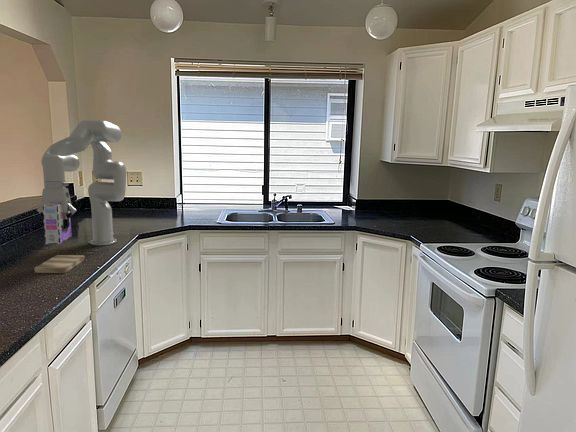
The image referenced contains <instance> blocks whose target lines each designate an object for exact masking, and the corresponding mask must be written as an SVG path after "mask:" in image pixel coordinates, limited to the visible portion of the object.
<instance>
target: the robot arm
mask: <svg viewBox="0 0 576 432" xmlns="http://www.w3.org/2000/svg"><path fill="white" fill-rule="evenodd" d="M122 136H123V135H122V130H121V128H120V127H119V126H118V125H117V124H114V123H112V122H110V121H107V120H102V119H101V120H100V119H83V120H81V121H79V123H78V124H77V125H76V126H75V128H74V129H73V130H72V132H71V133H70V135H69V136H67V137H65V138H62V139H60V140H58V141H56V142H54V143H52V144H51V145H50V146H48V148H47V149H46V151H44V153H43V155H42V157H41V161H40V162H41V166H42V171H43V172H42V174H43V175H42V176H43V187H44V188H42V192H41V193H42V194H41V204H40V205H39V207H37V208H36V212H38V213H39V214H40V215H41V216H42V217H43V206H42V205H44V204H47V203H61V205H62V212H63V217H64V219H63V226H64V229H66V228H69V225H70V224H69V218H70V219H71V217H72V216H73V215H74V214H75V213H76V212H77V209H76V208H75V207H74V206H73V205H72V201H71V196H70V192H69V188H68V186H69V182H66V176H65V172H67V173H68V172H69V173H70V172H71V173H72V172H75V171H76V170H78V169H79V167H80V159H79V157H78V156H76V155H75V154H79V153H81V152H84V151H85V150H86V149H87V148H88V147H89V145H91V147H92V153H93V156H92V157H93V159H92V160H93V161H92V174H93V175H92V176H93V177H94V178H95V179H98V180H106V181H94V182H92V183H90V184H89V185H88V188H87V191H88V192H87V194H88V198H89V201H90V208H91V225H92V239H91V240H89V244H90V245H93V246H108V245H113V244H115V243H117V239H116V238H114V235H115V233H114V229H113V227H114V226H113V209H112V206H111V205H110V203H109V202H121V201H123V200H124V198H125V197H126V189H127V168H126V165H125V164H124V162H122V161H118V160H112V158H113V157H112V156H113V154H112V153H113V152H112V149H111V147H110V146H109V145H108V144H107V143H118V142H120V141H121V139H122ZM109 180H111V181H110V182H108V181H109ZM112 181H113V182H112ZM68 211H70V213H68Z"/></svg>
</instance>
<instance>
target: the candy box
mask: <svg viewBox="0 0 576 432" xmlns="http://www.w3.org/2000/svg"><path fill="white" fill-rule="evenodd" d="M41 205H42V204H41ZM42 206H43V216H42V219H43V230H44V231H43V234H44V245H61V244H62V243H64V242H66V241H67V240H69V239H70V238H71V237H72V235H73V234H72V222H71V221H72V220H71V217H70V218H69V224H70V225H69V228H66V229H64V226H63V219H64V217H63V212H62V205H61V203H47V204H44V205H42ZM70 212H71V210H70V211H68V213H70Z"/></svg>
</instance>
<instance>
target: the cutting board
mask: <svg viewBox="0 0 576 432" xmlns="http://www.w3.org/2000/svg"><path fill="white" fill-rule="evenodd" d="M83 261H85V255H80V254H79V255H77V254H75V255H74V254H67V255H66V254H64V255H63V254H55V256H53V257H50V258H49V259H48V260H46V261H43V262H42V263H41V264H38V265H37V266H35V267H34V273H36V274H37V273H38V274H39V273H40V274H41V273H43V274H44V273H49V274H53V273H54V274H66V273H67V272H69V271H70V270H72V269H73V268H75V267H76V266H78V265H79V264H81V263H82V262H83Z"/></svg>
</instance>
